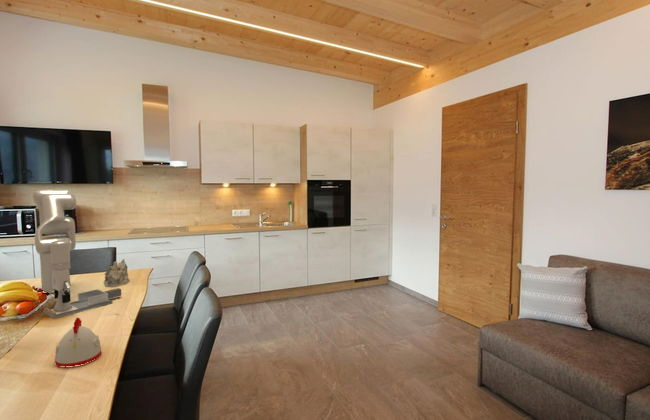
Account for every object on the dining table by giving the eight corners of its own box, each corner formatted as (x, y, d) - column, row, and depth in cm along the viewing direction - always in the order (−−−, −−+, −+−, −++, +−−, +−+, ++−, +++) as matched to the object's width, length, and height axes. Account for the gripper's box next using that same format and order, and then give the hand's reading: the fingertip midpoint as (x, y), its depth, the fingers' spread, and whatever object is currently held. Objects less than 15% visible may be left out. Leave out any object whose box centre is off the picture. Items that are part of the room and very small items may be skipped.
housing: (78, 301, 183) (77, 293, 182) (114, 292, 197) (114, 285, 197) (88, 306, 176) (87, 298, 176) (125, 297, 191) (125, 289, 190)
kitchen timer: (49, 371, 120) (47, 328, 119) (61, 352, 133) (59, 314, 131) (97, 363, 126) (96, 322, 124) (104, 346, 138) (102, 309, 137)
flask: (61, 312, 168) (60, 292, 167) (49, 311, 170) (48, 291, 169) (75, 307, 175) (74, 287, 174) (63, 306, 177) (62, 286, 176)
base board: (43, 312, 171) (42, 307, 171) (101, 298, 192) (101, 294, 192) (53, 318, 164) (53, 313, 164) (112, 303, 185) (112, 299, 185)
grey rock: (113, 278, 230) (112, 256, 227) (135, 281, 226) (134, 259, 223) (93, 286, 215) (91, 263, 212) (115, 290, 211) (114, 266, 208)
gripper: (44, 264, 172) (46, 298, 174) (58, 270, 163) (60, 306, 164) (62, 261, 178) (64, 294, 180) (77, 267, 169) (78, 302, 170)
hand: (62, 300), depth 172 cm, fingers open, 9 cm apart
